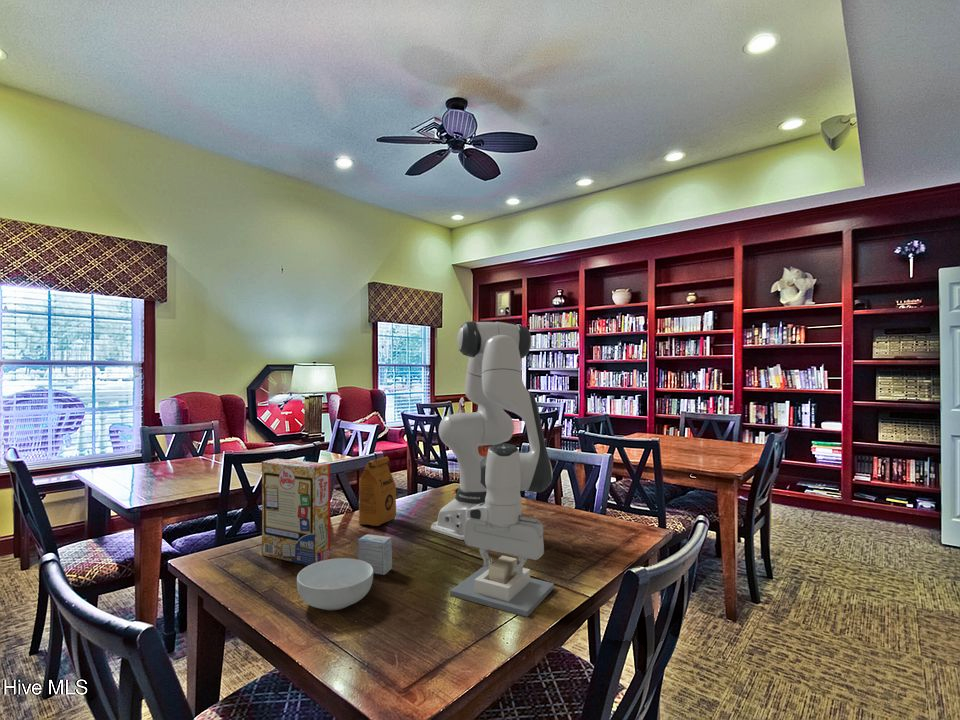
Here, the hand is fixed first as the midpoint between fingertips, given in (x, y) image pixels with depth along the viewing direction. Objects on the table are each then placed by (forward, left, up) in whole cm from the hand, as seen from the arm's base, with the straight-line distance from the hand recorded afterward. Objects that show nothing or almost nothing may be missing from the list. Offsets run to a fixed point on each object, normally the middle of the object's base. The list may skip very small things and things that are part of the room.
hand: (502, 569), depth 121 cm
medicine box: (-35, -6, -6) cm, 36 cm away
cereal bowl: (-31, -24, -6) cm, 40 cm away
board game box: (-60, -11, -6) cm, 61 cm away
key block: (0, 0, -4) cm, 4 cm away
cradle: (0, 0, -5) cm, 5 cm away
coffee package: (-61, +25, -6) cm, 66 cm away
